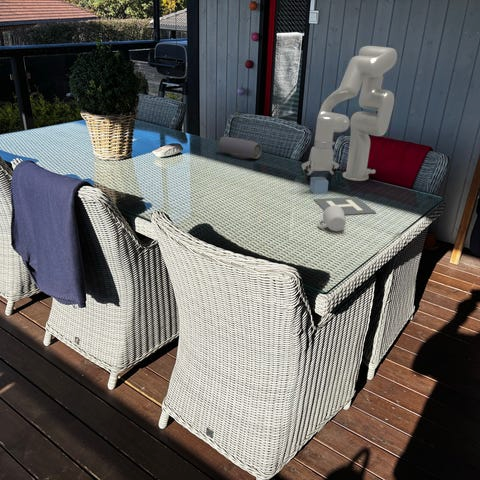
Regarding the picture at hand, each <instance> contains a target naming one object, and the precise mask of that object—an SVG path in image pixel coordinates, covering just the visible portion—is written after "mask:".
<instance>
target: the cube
mask: <svg viewBox="0 0 480 480" xmlns="http://www.w3.org/2000/svg"><path fill="white" fill-rule="evenodd" d="M328 182H329V181H328V180H327V177H325V176H313V177H312V176H311V182H310V184H309V187H310V188H309V191H310V192H312V193H313V194H314V195H327V194H328V190H329V189H328V188H329V183H328Z"/></svg>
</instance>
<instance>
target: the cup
mask: <svg viewBox="0 0 480 480" xmlns="http://www.w3.org/2000/svg"><path fill="white" fill-rule="evenodd" d="M346 221H347V219H346V216H345V215H344V211H343V209H342V208H341V207H339V206H330V207H328V208H327V209H325V211H324V210H323V213H322V219H320V220H319V221H318V222H317V228H319V229H321V230H323V229H326V228H328V229H329V230H330V231H333V232H340V231H342V230H343V229H344V228H345V227H346V224H347V223H346ZM322 224H323V225H322Z"/></svg>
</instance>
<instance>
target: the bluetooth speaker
mask: <svg viewBox="0 0 480 480" xmlns="http://www.w3.org/2000/svg"><path fill="white" fill-rule="evenodd" d="M217 147H218V150H219V152H222V153H224V154H228V155H230V156H231V157H234V158H238V159H243V160H248V159H259V158H260V157H261V154H262V149H263V148H262V143H260V142H256V141H252V140H248V139H244V138H238V137H232V136H222V137H220V138H219V142H218V146H217Z"/></svg>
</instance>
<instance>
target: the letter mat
mask: <svg viewBox="0 0 480 480" xmlns="http://www.w3.org/2000/svg"><path fill="white" fill-rule="evenodd" d="M313 201H314V203H316V204H317V205H318V206H319V207H320V208H321V210H323V212H324V211H325V209H327V208H328V207H330V206H339V207H341V208H342V209H343V211H344V215H345V217H346V216H357V215H358V216H359V215H360V216H361V215H372V214H373V215H375V214H377V212H376V211H375V210H374V209H373V208H372V207H370V206H369V205H367V204H366V202H364V201H363V200H362V199H360V198H359V197H358V196H350V197H349V196H348V197H347V196H346V197H330V198H314V199H313Z"/></svg>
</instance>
